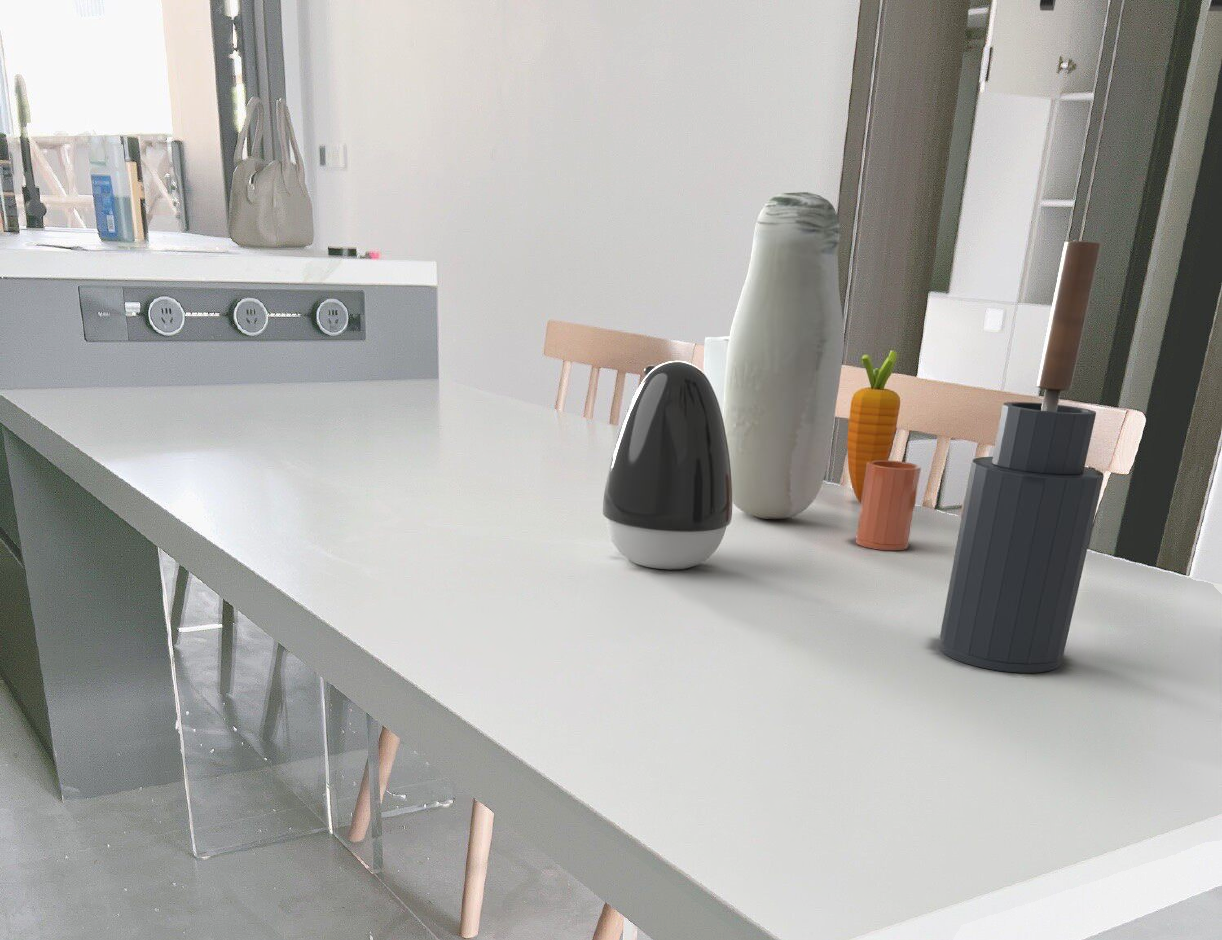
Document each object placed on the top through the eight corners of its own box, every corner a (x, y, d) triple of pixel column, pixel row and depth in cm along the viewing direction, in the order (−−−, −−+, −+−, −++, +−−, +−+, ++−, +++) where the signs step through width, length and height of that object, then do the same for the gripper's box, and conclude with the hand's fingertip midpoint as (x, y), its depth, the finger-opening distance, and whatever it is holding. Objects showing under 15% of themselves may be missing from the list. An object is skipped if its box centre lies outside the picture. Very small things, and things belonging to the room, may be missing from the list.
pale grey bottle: (840, 522, 118) (885, 197, 106) (764, 531, 112) (803, 187, 100) (767, 503, 125) (801, 196, 113) (692, 510, 119) (721, 187, 107)
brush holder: (910, 543, 111) (923, 464, 108) (904, 553, 107) (917, 471, 104) (860, 536, 112) (871, 458, 109) (851, 546, 108) (863, 465, 105)
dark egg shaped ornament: (691, 545, 105) (707, 356, 98) (749, 575, 96) (771, 370, 90) (579, 548, 101) (589, 352, 94) (630, 580, 92) (644, 366, 86)
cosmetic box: (782, 482, 137) (798, 340, 130) (742, 486, 133) (758, 340, 127) (730, 470, 142) (744, 333, 136) (691, 472, 139) (704, 332, 133)
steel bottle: (1062, 648, 83) (1116, 408, 76) (1060, 680, 76) (1118, 420, 69) (944, 630, 85) (987, 396, 78) (932, 660, 78) (978, 407, 72)
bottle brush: (1022, 643, 81) (1106, 243, 71) (1020, 653, 79) (1107, 242, 69) (982, 637, 82) (1060, 241, 72) (979, 647, 79) (1059, 239, 69)
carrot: (840, 505, 126) (862, 350, 120) (834, 496, 131) (854, 346, 124) (888, 508, 126) (912, 353, 120) (881, 499, 131) (903, 350, 124)
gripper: (1359, -366, 60) (1265, 23, 67) (1056, -346, 64) (996, 20, 71) (1393, -445, 53) (1284, -4, 60) (1053, -416, 57) (987, -6, 64)
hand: (1129, 8), depth 65 cm, fingers open, 8 cm apart
